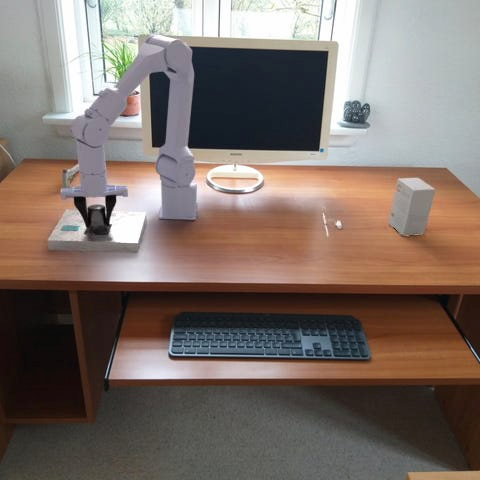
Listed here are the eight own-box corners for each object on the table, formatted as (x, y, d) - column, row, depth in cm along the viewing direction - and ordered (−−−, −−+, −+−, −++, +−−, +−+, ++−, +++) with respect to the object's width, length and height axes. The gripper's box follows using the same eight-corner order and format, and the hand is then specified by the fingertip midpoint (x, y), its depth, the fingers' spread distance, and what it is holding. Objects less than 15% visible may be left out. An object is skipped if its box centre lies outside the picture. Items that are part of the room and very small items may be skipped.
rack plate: (146, 220, 129) (146, 211, 128) (137, 252, 115) (137, 242, 114) (67, 218, 128) (66, 209, 126) (48, 249, 114) (47, 239, 112)
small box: (424, 235, 130) (436, 189, 124) (402, 237, 129) (413, 190, 122) (407, 221, 137) (418, 177, 131) (387, 223, 136) (397, 178, 129)
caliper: (67, 192, 142) (65, 171, 139) (63, 191, 142) (61, 171, 139) (83, 166, 160) (81, 147, 157) (79, 166, 160) (77, 147, 157)
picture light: (321, 214, 139) (322, 207, 138) (337, 215, 139) (338, 209, 138) (326, 238, 127) (327, 231, 126) (343, 240, 127) (344, 232, 126)
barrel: (107, 226, 121) (105, 203, 118) (107, 234, 117) (105, 210, 115) (89, 228, 120) (87, 204, 117) (89, 235, 116) (87, 211, 114)
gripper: (125, 163, 116) (128, 215, 123) (59, 165, 113) (66, 219, 119) (126, 174, 110) (130, 229, 117) (57, 176, 107) (64, 233, 113)
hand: (97, 224), depth 118 cm, fingers closed on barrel, 4 cm apart
